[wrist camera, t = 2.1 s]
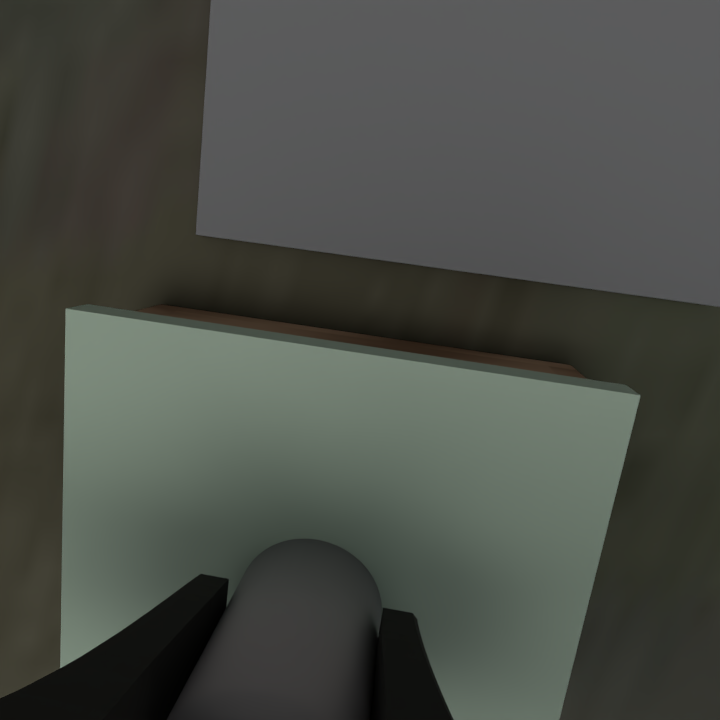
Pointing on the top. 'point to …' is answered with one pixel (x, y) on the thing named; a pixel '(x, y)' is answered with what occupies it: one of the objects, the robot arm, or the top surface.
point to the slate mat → (472, 136)
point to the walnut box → (365, 340)
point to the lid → (333, 511)
